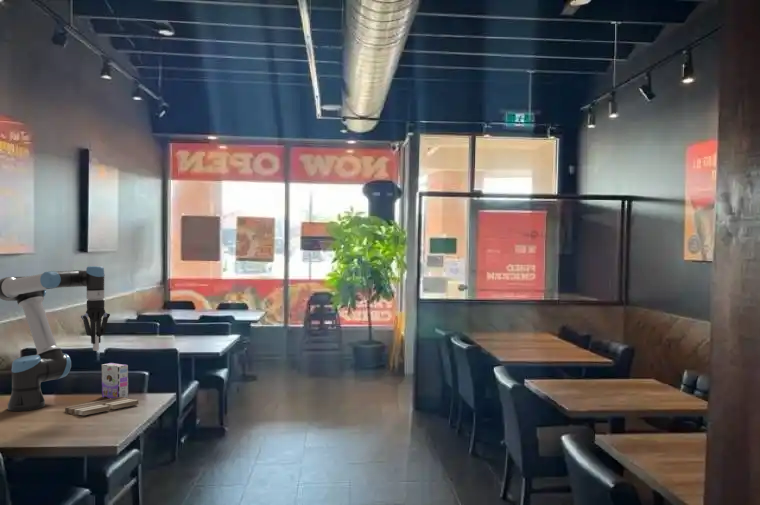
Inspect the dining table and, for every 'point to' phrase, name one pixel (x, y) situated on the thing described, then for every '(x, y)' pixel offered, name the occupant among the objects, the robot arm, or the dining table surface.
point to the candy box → (114, 380)
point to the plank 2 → (122, 403)
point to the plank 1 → (92, 409)
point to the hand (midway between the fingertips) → (95, 350)
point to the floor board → (92, 404)
